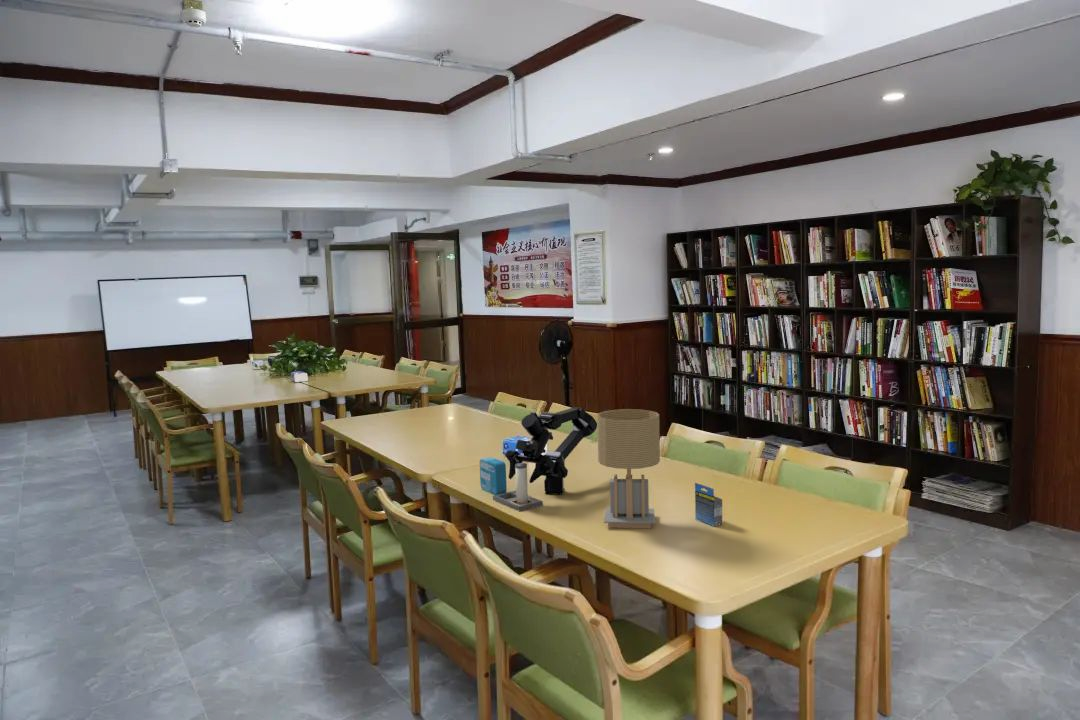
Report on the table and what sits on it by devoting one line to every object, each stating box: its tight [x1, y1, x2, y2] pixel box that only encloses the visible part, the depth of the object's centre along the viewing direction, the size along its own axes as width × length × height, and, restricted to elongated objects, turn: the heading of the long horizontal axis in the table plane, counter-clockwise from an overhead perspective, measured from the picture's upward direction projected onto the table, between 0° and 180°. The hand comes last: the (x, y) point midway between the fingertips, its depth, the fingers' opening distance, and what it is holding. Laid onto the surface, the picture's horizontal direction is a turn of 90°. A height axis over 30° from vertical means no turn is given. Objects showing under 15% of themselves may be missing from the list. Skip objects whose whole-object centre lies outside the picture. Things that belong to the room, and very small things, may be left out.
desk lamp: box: [596, 408, 661, 529], centre depth 229 cm, size 20×20×35 cm
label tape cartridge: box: [694, 482, 723, 527], centre depth 228 cm, size 9×4×12 cm, turn 30°
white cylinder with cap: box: [515, 462, 529, 505], centre depth 250 cm, size 4×4×15 cm
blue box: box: [479, 456, 508, 495], centre depth 269 cm, size 12×4×12 cm, turn 35°
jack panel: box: [492, 490, 544, 512], centre depth 255 cm, size 10×17×2 cm, turn 36°
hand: (519, 480), depth 249 cm, fingers open, 9 cm apart
